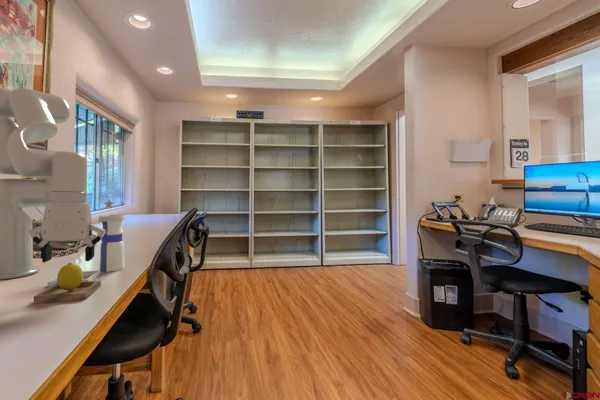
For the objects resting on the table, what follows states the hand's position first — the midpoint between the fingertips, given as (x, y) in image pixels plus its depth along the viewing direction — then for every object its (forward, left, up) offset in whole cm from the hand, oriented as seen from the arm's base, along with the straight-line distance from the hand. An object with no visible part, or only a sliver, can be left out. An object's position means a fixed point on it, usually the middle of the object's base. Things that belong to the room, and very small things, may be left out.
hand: (68, 260), depth 80 cm
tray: (+1, -1, -9) cm, 9 cm away
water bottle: (+3, +25, -9) cm, 27 cm away
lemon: (+1, 0, -9) cm, 9 cm away
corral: (-3, +13, -9) cm, 17 cm away
